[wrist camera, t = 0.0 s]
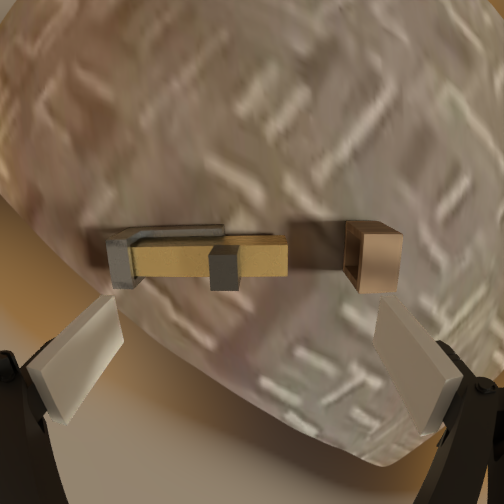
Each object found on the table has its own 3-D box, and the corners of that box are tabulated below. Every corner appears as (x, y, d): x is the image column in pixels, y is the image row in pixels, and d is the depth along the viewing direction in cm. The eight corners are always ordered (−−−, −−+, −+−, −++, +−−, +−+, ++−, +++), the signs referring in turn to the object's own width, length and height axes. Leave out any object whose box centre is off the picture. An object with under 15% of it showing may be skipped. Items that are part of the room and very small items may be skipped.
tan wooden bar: (126, 237, 41) (96, 255, 32) (284, 234, 40) (290, 254, 31) (129, 264, 42) (101, 288, 33) (284, 263, 41) (290, 290, 32)
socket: (345, 220, 40) (364, 234, 33) (379, 221, 40) (403, 234, 32) (342, 271, 42) (359, 293, 35) (375, 270, 42) (396, 291, 34)
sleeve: (128, 227, 42) (105, 239, 35) (224, 224, 41) (216, 237, 34) (134, 269, 43) (113, 288, 36) (226, 269, 43) (219, 290, 36)
